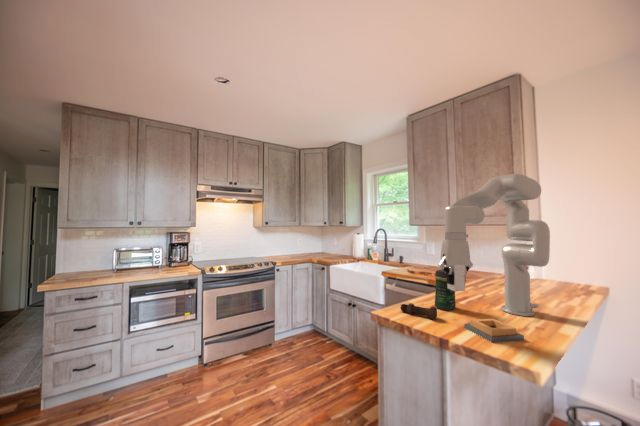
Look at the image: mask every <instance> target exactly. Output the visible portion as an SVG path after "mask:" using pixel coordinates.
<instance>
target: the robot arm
mask: <svg viewBox="0 0 640 426" xmlns="http://www.w3.org/2000/svg"><path fill="white" fill-rule="evenodd" d="M541 194H542V186H541V184H540V183H539V182H538V181H537V180H535V179H533V178H531V177H529V176H527V175H524V174H522V173H510V174H505V175H504V174H503V175H497V176H493V177H492V178H490V179H489V180H488V181H486V183H485V184H483V185H482V187H481V188H479V189H478V190H477V191H474V192H472V193H470V194H468V195H466V196H464V197H462V198H459V199H458V200H456V201H455V202H453V204H451V205H449V206H446V207H445V208H444V240H442V243H441V248H440V249H441V251H440V262H439V263H438V267H439V268H440V269H443V270H444V271H445V273H446V278H447V283H448V284H450V285H453V274H452V271H453V266H454V265H465V275H467V274H468V272H469V270H470V269H471V268H472V267H473V266H474V264H473V263H472V261H471V253H470V252H471V251H470V246H469V242H468V240H467V238H469V234H468V233H467V225H470V226H471V225H472V226H473V225H478V224H481V223H482V222H483V221H484V219H485V211H484V210H485V209H487V208H490V207H493V206H494V205H495V204H496V203H497V202H498V201H499V200H500V202H501V203H502V204H503V206H504V207H505V210H506V224H505V225H506V229H505V230H506V232H505V233H506V236H507V238H508V239H510V240H512V241H518V242H519V241H520V242H521V241H522V242H532V243H533V244H527V243H516V242H515V243H514V242H513V243H507V244H505V245H502V247H501V256H502V261H503V266H504V267H503V268H504V269H503V270H504V305H501V306H500V309H501V311H503V312H505V313H508V314H509V315H510V314H511V315H515V316H522V317H533V316H535V315H536V312H535V311H534V310H533V309H536V308H537V309H538V308H539V307H540V306H539V304H538V303H532V302H531V275H530V272H529V271H528V269H527V268H526V266H530V267H539V268H542V267H546V266H547V265H548V263H549V261H550V252H551V250H550V249H551V248H550V245H551V243H550V242H551V240H550V239H551V238H550V237H551V231H550V227H549V225H548V223H546V222H545V221H543V220H539V219H538V220H537V219H536V220H535V219H533V220H531V219H530V209H529V207H528V206H527V204H525V203H524V202H523V201H530V200H531V201H532V200H536V199H538V198H539V197H540V196H541ZM483 209H484V210H483ZM465 282H466V276H465Z"/></svg>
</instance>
